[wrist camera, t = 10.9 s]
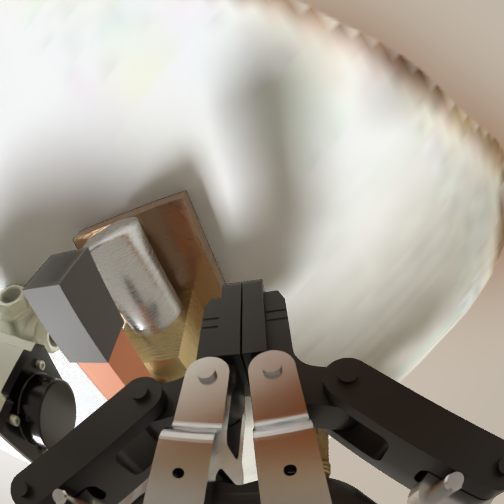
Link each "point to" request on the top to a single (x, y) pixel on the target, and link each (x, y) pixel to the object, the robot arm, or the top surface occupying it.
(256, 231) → the top surface
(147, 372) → the valve lever
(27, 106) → the top surface
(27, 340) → the ball valve
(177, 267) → the stand
